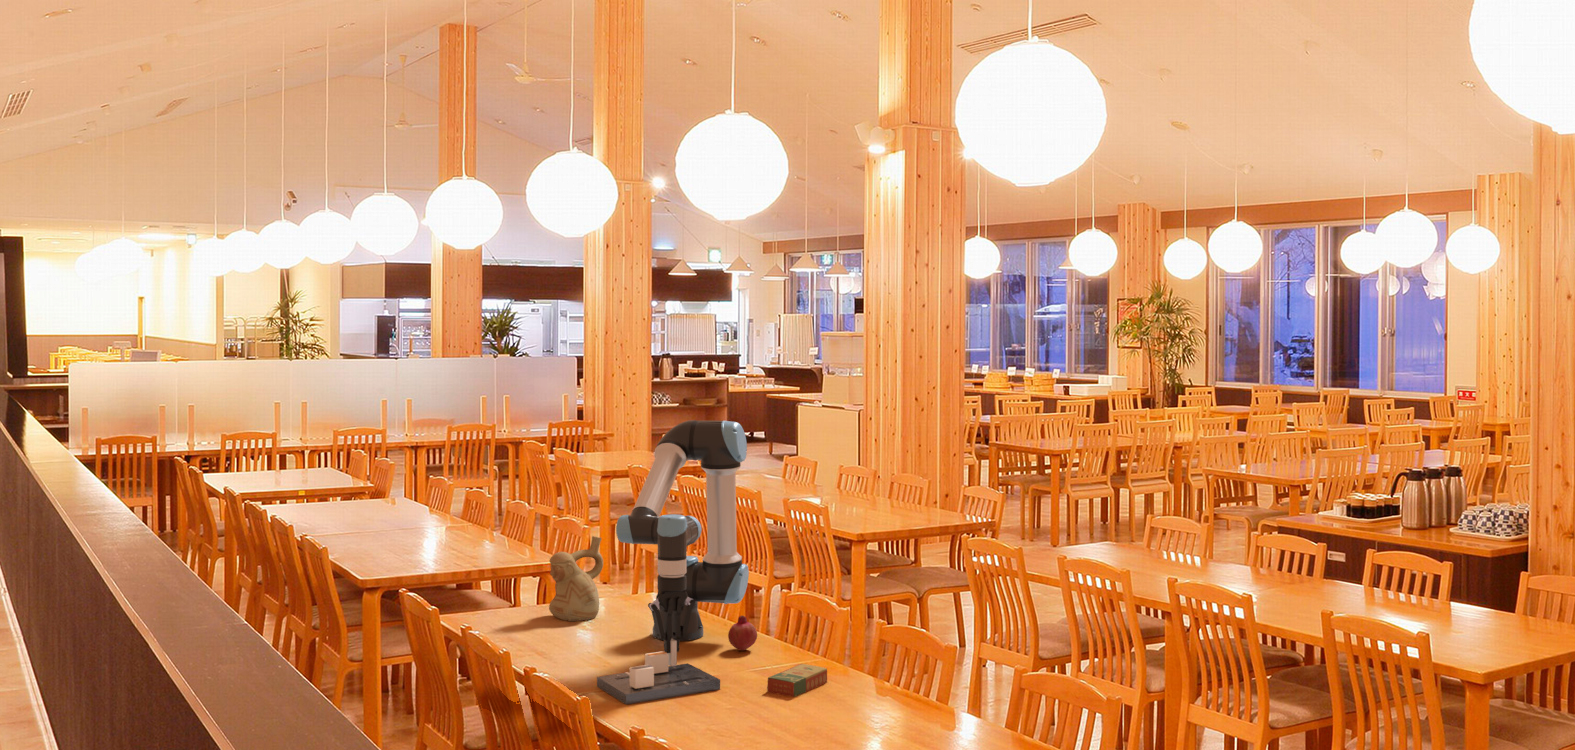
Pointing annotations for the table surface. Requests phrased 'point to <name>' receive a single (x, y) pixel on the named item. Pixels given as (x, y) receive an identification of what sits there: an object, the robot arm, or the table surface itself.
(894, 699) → the table surface
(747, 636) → the fruit
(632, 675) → the fader grey
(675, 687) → the console
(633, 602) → the table surface
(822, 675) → the carton
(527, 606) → the table surface
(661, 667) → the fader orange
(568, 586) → the ceramic vessel
